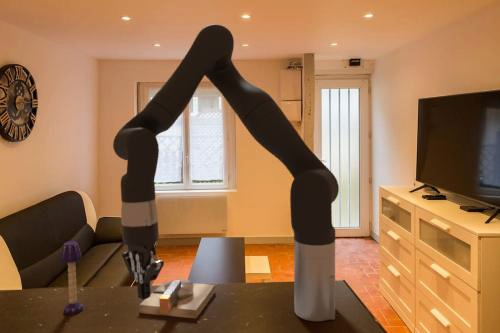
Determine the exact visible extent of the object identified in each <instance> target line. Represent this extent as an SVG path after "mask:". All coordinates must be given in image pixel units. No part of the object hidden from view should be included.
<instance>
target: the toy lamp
mask: <svg viewBox="0 0 500 333" xmlns="http://www.w3.org/2000/svg"><path fill="white" fill-rule="evenodd" d="M82 257H83V256H82V252H81V249H80V247H79V244H78V242H77V241H73V240H72V241H71V240H70V241H65V243H63V245H62V248H61V253H60V257H59V261H60V262H61V263H64V264H67V266H68V267H67V272H68V274H67V277H68V296H69V298H68V302H69V303H67V304H66V305H65V307H64V309H63V313H64V314H65V315H77V314H79V313H81V312H82V311H83V310H84V306H83V304H82V302H80V301H78V299H77V295H78V293H77V274H76V262H79V261H81V260H82Z"/></svg>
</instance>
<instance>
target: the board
mask: <svg viewBox="0 0 500 333" xmlns="http://www.w3.org/2000/svg"><path fill="white" fill-rule="evenodd" d="M168 282H171V281H170V280H169V281H167V280H165V281H163V283H162V284H160V285H159V286H158V287H157V288H156V289H155V290H153V292H151V294H150V297H149V298H147V299H144V300H143V301H141V302H140V304H139V306H138V308H139V314H146V315H157V316H166V317H167V316H169V317H176V318H177V317H179V318H185V319H186V318H189V319H197V318H198V317H199V315H200V314H201V313H202V312H203V310H204V308H205V307H206V306H207V305H208V303H209V301H211V299H212V297H213V296H214V295H215V293H216V284H208V283H197V282H196V283H195V282H194V283H193V282H192V283H193V294H192V295H191V296H190V297H187V298H184V299H178V300H177V301H176V303H175V304H174V306H173V307H172V309H171V311H170V312H169V314H160V303H159V298H160V297H161V296H162V295H163V294H164V292H165V289H164V286H165V285H166V284H167V283H168ZM213 294H214V295H213ZM210 298H211V299H210Z"/></svg>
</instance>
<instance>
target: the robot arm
mask: <svg viewBox="0 0 500 333" xmlns="http://www.w3.org/2000/svg"><path fill="white" fill-rule="evenodd" d="M234 45H235V40H234V36H233V34H232V32H231V31H230V29H229V28H228V27H226V26H223V25H221V24H218V23H217V24H216V23H214V24H209V25H205V26H204V27H203V28H202V29H200V30H199V32H198V33H197V35H196V37H195V38H194V40H193V42H192V44H191V46H190V47H189V49H188V51H187V53H186V54H185V56H184V57H183V59H182V60H181V61H180V62H179V65H178V66H177V67H176V69H175V70H174V71H173V73H172V74H171V76H170V77H169V78H168V79H167V80H166V81H165V82H164V84H163V85H162V87H161V88H159V89H158V91H157V92H156V93H155V94H154V96H153V97H152V98H151V99H150V100H149V101H148V103H147V104H146V105H145V107H144V108H142V110H141V111H140V112H138V113H137V114H136V115H134V116H133V117H132V118H131V119H130V120H129V121H127V123H125V124H124V125H123V126H122V127H121V128H120V129H119V131H117V133H116V135H115V136H114V139H113V142H112V145H113V146H112V147H113V151H114V153H115V154H116V156H117V157H118V158H120V159H121V160H125V161H127V162H126V163H127V165H126V173H125V174H123V175H122V176H121V178H120V196H121V206H120V207H121V208H120V214H121V231H122V232H121V233H122V235H121V236H122V243H123V245H125V246H127V251H125V252H123V253H121V257H122V260H123V261H124V264H125V267H126V268H127V270H128V272H129V273H128V274H129V275H130V277H131V278H134V281H135V282H136V284H137V285H136V286H137V287H136V288H137V297H138V298H139V299H140V300H143V301H144V300H145V299H147V298H149V297H150V295H151V294H152V292H151V282H152V281H156V280H157V279H158V276H160V272H161V271H162V270H163V267H164V264H165V262H164V260H163V259H161V260H159V259H158V258H157V256H156V255H157V249H156V246H155V245H156V244H157V242H158V241H159V240H160V239H159V237H160V235H159V234H160V232H159V221H158V220H159V218H158V217H159V216H158V205H157V201H156V187H155V184H156V183H155V177H156V174H157V168H158V163H159V155H160V151H159V150H160V149H159V148H160V147H159V142H158V139H157V136H158V135H159V134H162V133H165V132H166V131H168V130H169V129H170V128H171V127H173V125H174V124H175V122H176V121H177V120H178V119H179V117H180V116H181V115H182V114H183V113H184V111H185V110H186V108H187V107H188V105H189V103H190V102H191V100H192V98H193V97H194V95H195V93H196V91H197V89H198V87H199V85H200V84H201V82H202V80H203V79H204V77H206V78H207V79H208V80H209V81H210V82H211V84H212V85H213V86H214V87H215V88H216V89H217V90H218V92H219V93H220V94H221V95H222V96H223V98H224V99H225V101H226V102H227V103H228V105H229V106H230V107H231V109H232V110H233V111H234V113H235V114H236V115H237V117H238V118H239V120H240V121H241V123H242V125H243V126H244V127H245V129H246V130H247V131H248V132H249V134H250V135H251V137H252V138H253V139H254V140H255V141H256V142H257V143H258V144H259V145H260V146H262V148H264V149H265V150H266V151H268V152H269V153H270V154H271V155H272V156H274V157H275V158H276V159H278V161H280V162H281V163H282V165H284V167H285V168H286V169H287V170H288V172H289V173H290V175H291V177H292V178H293V180H292V183H291V185H290V190H289V194H290V195H289V201H290V202H289V203H290V206H289V207H290V225H291V229H292V231H293V237H294V238H293V240H294V241H293V248H294V250H293V251H294V252H293V255H294V256H293V259H294V261H293V263H294V266H293V268H294V269H293V273H294V274H293V275H294V276H293V279H294V281H293V282H294V283H293V284H294V288H293V289H294V290H293V291H294V297H293V298H294V301H293V304H294V305H293V306H294V313H295V314H296V316H297V317H299V318H300V319H302V320H304V321H305V320H306V321H310V322H324V321H328V320H333V321H334V320H335V319H336V229H335V227H334V226H333V222H332V218H333V217H332V216H333V215H332V212H333V211H332V206H333V205H332V204H333V203H334V202H335V201H336V199H337V198H338V195H339V193H340V192H339V191H340V190H339V189H340V186H339V182H338V179H337V177H336V176H335V174H334V173H333V172H332V170H330V169H329V168H328V167H327V166H326V165H325V164H324V162H323V161H321V160H320V158H319V157H318V156H317V155H316V154H315V153H314V152H313V151H312V150H311V149H310V148H309V146H308V145H307V144H306V142H305V141H304V140H303V138H302V137H301V135H300V133H298V130H296V128H295V127H294V125H293V124H292V123H291V121H290V120H289V119H288V117H287V116H286V114H285V113H284V111H283V110H282V109H281V107H280V106H279V104H277V102H276V101H275V100H274V98H272V96H271V95H270V94H269V93H267V92H266V91H265V90H263V89H261V88H259V87H258V86H256V85H254V84H252V83H250V82H248V81H247V80H246V79H245V78H244V77H243V76H242V74H241V73H240V72H239V70H238V69H237V68H236V66H235V64H234V62H233V60H232V57H233V52H234V47H235V46H234Z"/></svg>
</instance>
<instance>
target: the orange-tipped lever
mask: <svg viewBox="0 0 500 333" xmlns="http://www.w3.org/2000/svg"><path fill="white" fill-rule="evenodd" d="M164 289H165V292H164V294H163V295H162V296H161V297H160V298H159V303H160V314H169V312H170V311H171V309H172V307H173V306H174V304H175V303H176V301H177V300H178V299H184V298H187V297H190V296H191V295H192V294H193V281H191V280H189V279H188V280H187V279H176V280H175V279H174V280H172V281H171V282H168V283H167V284H166V285H165V286H164Z"/></svg>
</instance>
